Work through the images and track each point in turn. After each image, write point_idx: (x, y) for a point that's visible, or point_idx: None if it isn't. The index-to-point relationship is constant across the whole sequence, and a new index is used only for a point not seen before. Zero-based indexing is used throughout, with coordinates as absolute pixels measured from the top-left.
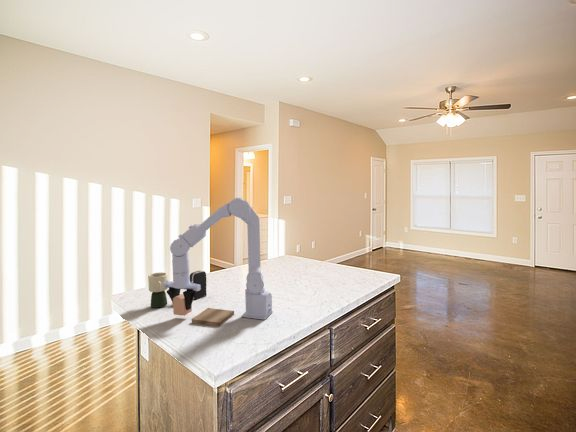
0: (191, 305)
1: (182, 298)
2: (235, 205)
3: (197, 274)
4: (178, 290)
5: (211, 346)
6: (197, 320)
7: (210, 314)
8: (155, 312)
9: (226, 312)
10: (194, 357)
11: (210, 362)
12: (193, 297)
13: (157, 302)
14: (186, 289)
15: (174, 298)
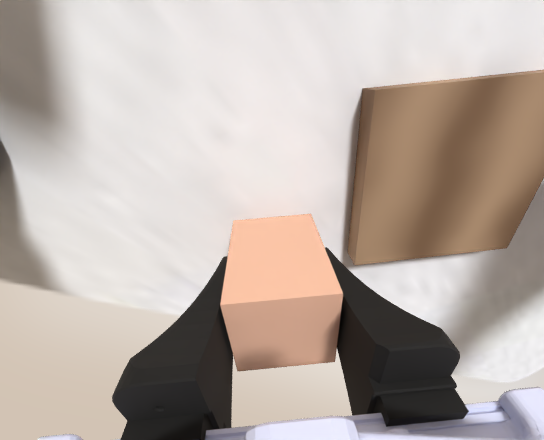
0: (318, 234)
1: (315, 355)
2: None
3: None
4: (214, 369)
5: (484, 336)
6: (384, 259)
7: (433, 188)
8: (60, 224)
9: (538, 118)
10: (452, 373)
11: (496, 373)
12: (374, 293)
13: None
14: (366, 425)
15: (251, 368)
